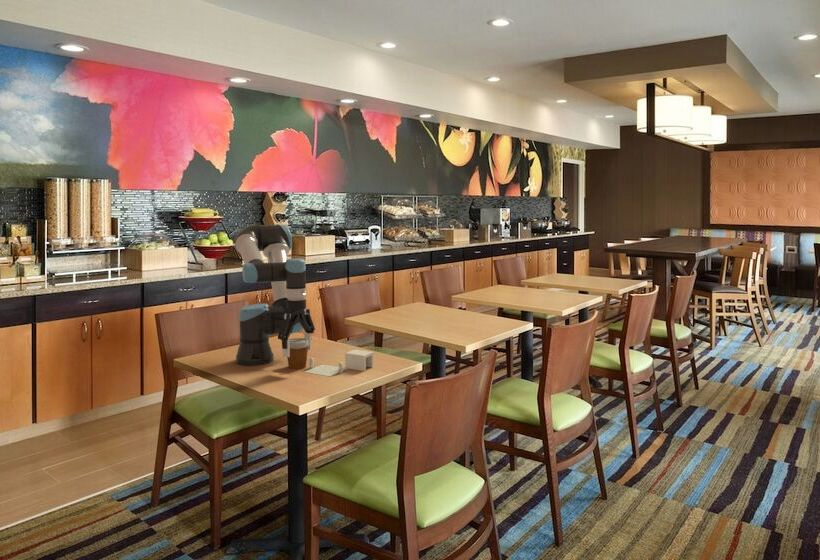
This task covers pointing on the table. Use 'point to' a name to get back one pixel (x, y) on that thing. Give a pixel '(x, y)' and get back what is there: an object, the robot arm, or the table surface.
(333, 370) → the board
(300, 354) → the disposable coffee cup
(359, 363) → the block
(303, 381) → the table surface
